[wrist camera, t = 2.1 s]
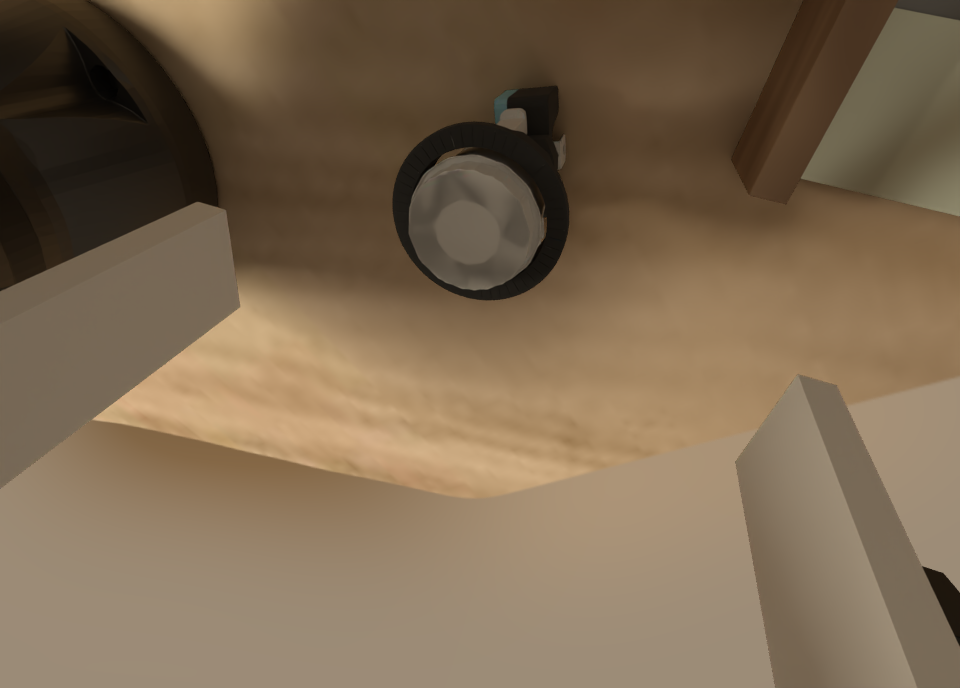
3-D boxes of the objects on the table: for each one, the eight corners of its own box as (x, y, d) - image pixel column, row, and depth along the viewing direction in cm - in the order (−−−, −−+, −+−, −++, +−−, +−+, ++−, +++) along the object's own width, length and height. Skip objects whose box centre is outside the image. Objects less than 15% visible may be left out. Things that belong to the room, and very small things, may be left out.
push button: (593, 233, 23) (565, 356, 16) (482, 234, 25) (406, 347, 17) (594, 71, 20) (560, 125, 12) (466, 84, 21) (359, 138, 13)
